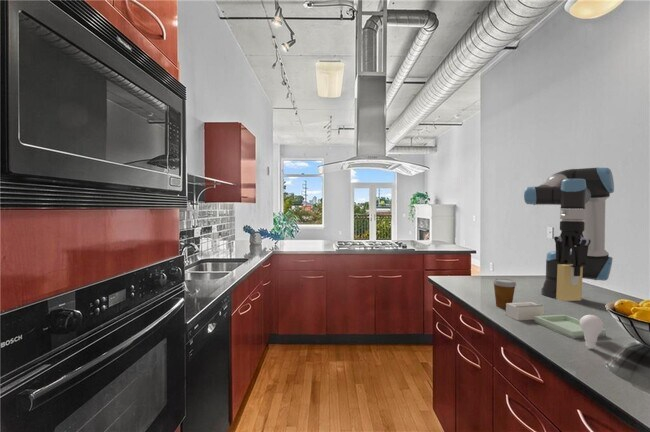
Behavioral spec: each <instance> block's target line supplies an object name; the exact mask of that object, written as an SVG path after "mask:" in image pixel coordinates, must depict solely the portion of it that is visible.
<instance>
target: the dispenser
mask: <svg viewBox="0 0 650 432" xmlns="http://www.w3.org/2000/svg"><path fill="white" fill-rule="evenodd" d="M505 316H507V317H510V318H512V319H514V320H516V321H532V320H534V321H535V316H545V306H544V305H543V304H538V303H535V302H532V301H526V302H525V301H524V302H512V303H506V308H505Z"/></svg>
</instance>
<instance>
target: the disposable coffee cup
mask: <svg viewBox="0 0 650 432" xmlns="http://www.w3.org/2000/svg"><path fill="white" fill-rule="evenodd" d="M492 283H493V289H494V296H495V298H494V299H495V305H496V307H498V308H501V309H506V303H514V302H513V300H514V295H515V289H516V286H517V283H516V280H514V279H510V278H501V277H497V278H496V277H495V278H494V279H493V281H492Z"/></svg>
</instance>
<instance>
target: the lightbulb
mask: <svg viewBox="0 0 650 432" xmlns="http://www.w3.org/2000/svg"><path fill="white" fill-rule="evenodd" d="M579 320H580V327H581V329H582V330H583V332H584V336H585V338H584V340H585V347H586V348H588V350H593V349H596V345H597V342H598V338H599V337H598V335H599V334H600V333H601V331H602V330H603V328H604V322H603V321H602V320H601V318H599V317H598V316H596V315H593V314H586V315H583V316H582V317H581V318H580V319H579Z"/></svg>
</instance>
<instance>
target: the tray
mask: <svg viewBox="0 0 650 432" xmlns="http://www.w3.org/2000/svg"><path fill="white" fill-rule="evenodd" d="M534 323H535V324H538V325H540V326H542V327H544V328H546V329H550V330H552V331H554V332H556V333H559V334H561V335H563V336H566V337H568V338H569V339H585V336H584V332H583V330H582V329H581V327H580V319H578V318H575V317H573V316H571V315H567V314H553V315H549V314H548V315H544V316H535V319H534ZM606 336H607V329H606V328H604V327H603V330H602V331H601V333H600V334H599V335H598V338H599V337H600V338H601V337H606Z"/></svg>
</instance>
